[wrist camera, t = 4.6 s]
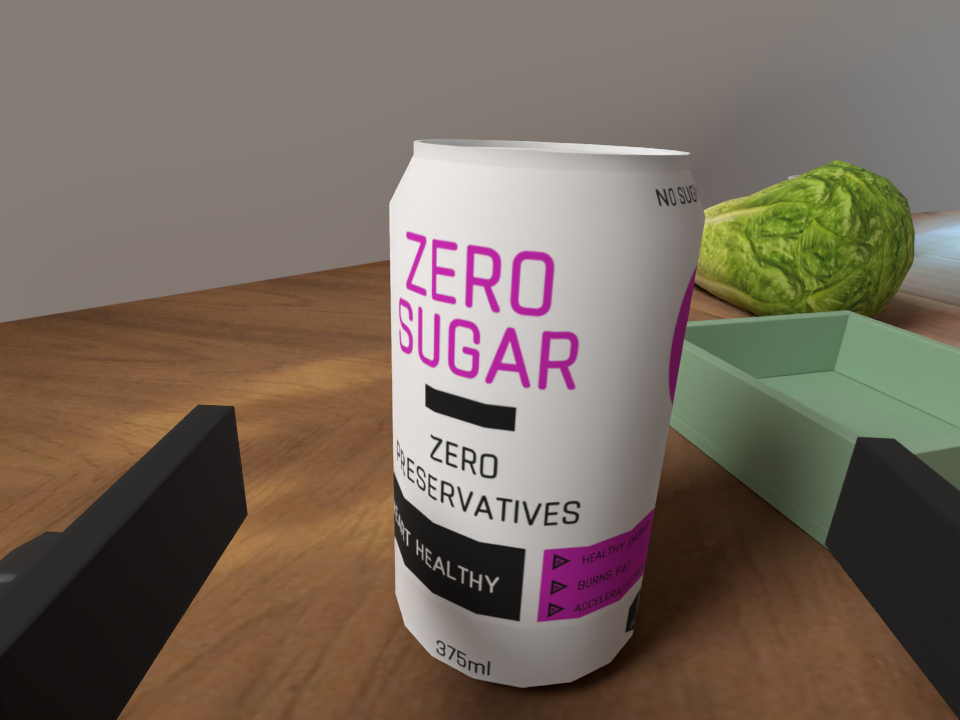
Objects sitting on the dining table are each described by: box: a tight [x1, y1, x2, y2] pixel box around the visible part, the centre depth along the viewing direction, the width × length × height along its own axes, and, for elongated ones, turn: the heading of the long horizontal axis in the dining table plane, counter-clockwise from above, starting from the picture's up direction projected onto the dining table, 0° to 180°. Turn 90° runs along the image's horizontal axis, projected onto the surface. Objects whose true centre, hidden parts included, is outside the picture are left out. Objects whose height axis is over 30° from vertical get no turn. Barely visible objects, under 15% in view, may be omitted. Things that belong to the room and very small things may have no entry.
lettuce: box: [694, 160, 915, 318], centre depth 58 cm, size 14×24×14 cm
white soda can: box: [389, 139, 706, 688], centre depth 18 cm, size 8×8×15 cm
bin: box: [669, 310, 960, 550], centre depth 32 cm, size 16×16×5 cm
